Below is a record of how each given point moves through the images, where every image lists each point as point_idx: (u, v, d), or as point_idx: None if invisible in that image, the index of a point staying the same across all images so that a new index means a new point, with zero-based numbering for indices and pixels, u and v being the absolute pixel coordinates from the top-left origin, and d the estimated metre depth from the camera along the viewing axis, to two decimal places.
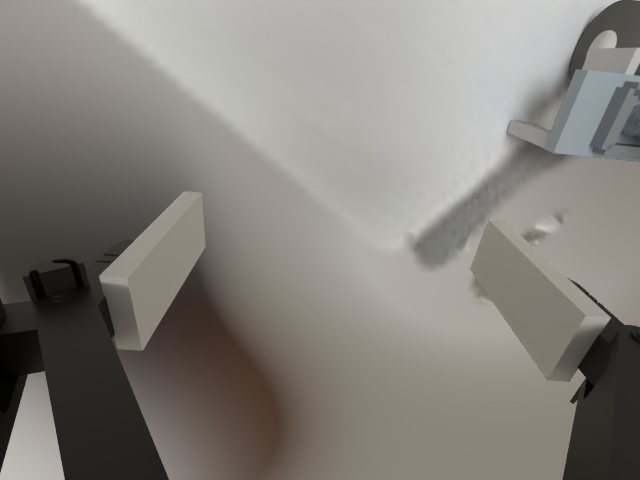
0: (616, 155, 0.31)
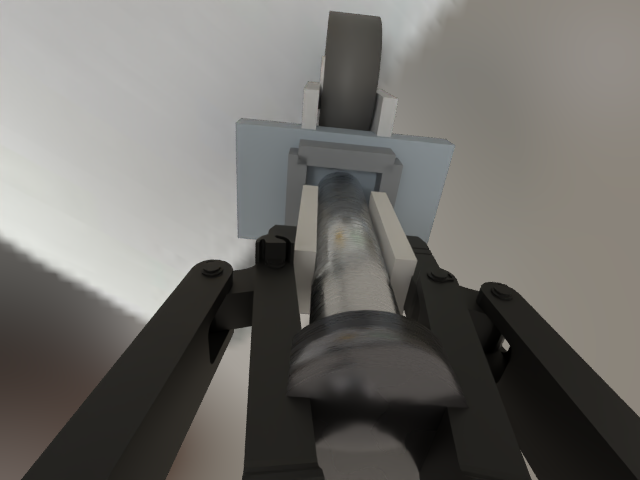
0: None
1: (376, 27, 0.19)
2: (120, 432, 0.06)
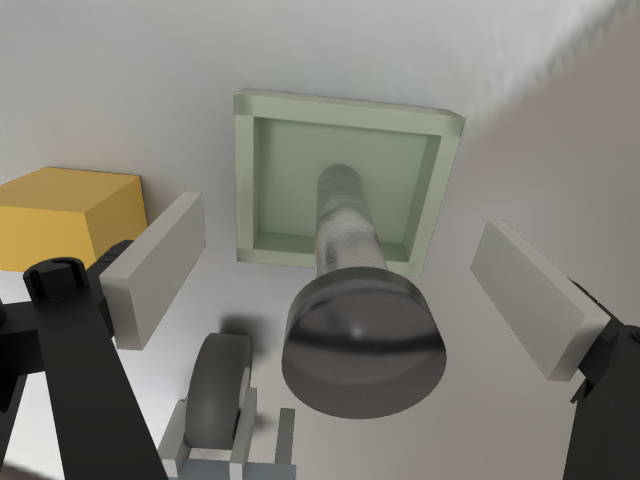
0: None
1: (231, 385, 0.23)
2: None
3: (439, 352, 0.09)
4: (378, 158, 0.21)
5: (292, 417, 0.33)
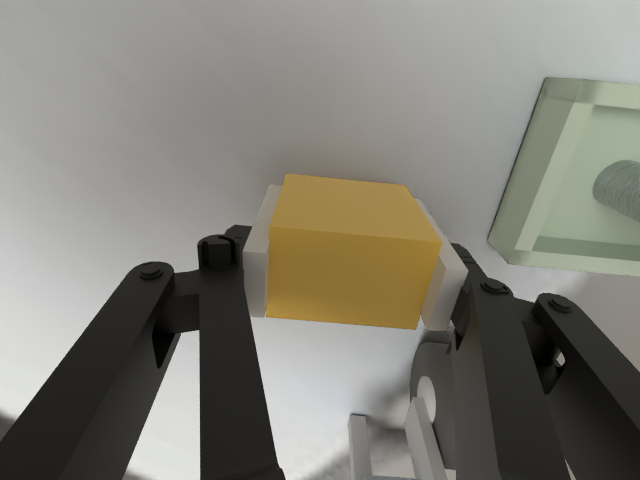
0: None
1: None
2: (59, 448, 0.06)
3: None
4: None
5: None
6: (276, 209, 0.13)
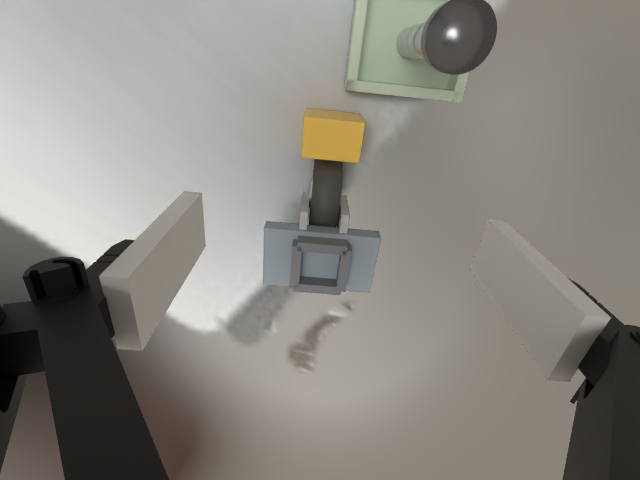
0: (304, 291, 0.37)
1: (339, 173, 0.36)
2: None
3: (493, 26, 0.22)
4: None
5: None
6: (305, 114, 0.35)
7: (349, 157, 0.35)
